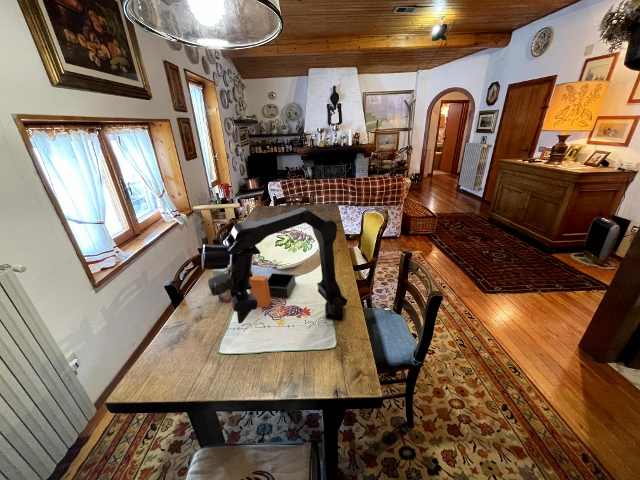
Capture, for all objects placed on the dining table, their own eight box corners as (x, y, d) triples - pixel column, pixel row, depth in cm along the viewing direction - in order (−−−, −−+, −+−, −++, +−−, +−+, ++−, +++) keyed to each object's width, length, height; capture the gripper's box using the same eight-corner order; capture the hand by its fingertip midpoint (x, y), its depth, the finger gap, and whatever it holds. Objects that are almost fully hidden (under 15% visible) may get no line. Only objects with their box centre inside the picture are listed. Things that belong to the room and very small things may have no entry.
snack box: (230, 302, 107) (223, 271, 101) (218, 300, 108) (211, 270, 102) (252, 275, 126) (247, 248, 120) (242, 274, 127) (236, 247, 121)
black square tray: (295, 283, 118) (294, 274, 115) (288, 298, 108) (286, 288, 106) (273, 282, 120) (272, 272, 118) (264, 296, 110) (262, 286, 108)
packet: (271, 302, 105) (267, 276, 100) (268, 307, 103) (264, 280, 97) (255, 301, 107) (250, 275, 102) (252, 305, 104) (247, 279, 99)
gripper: (207, 255, 76) (205, 300, 80) (215, 285, 61) (212, 339, 65) (244, 254, 81) (240, 296, 86) (260, 281, 66) (255, 331, 71)
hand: (237, 313), depth 77 cm, fingers open, 9 cm apart
